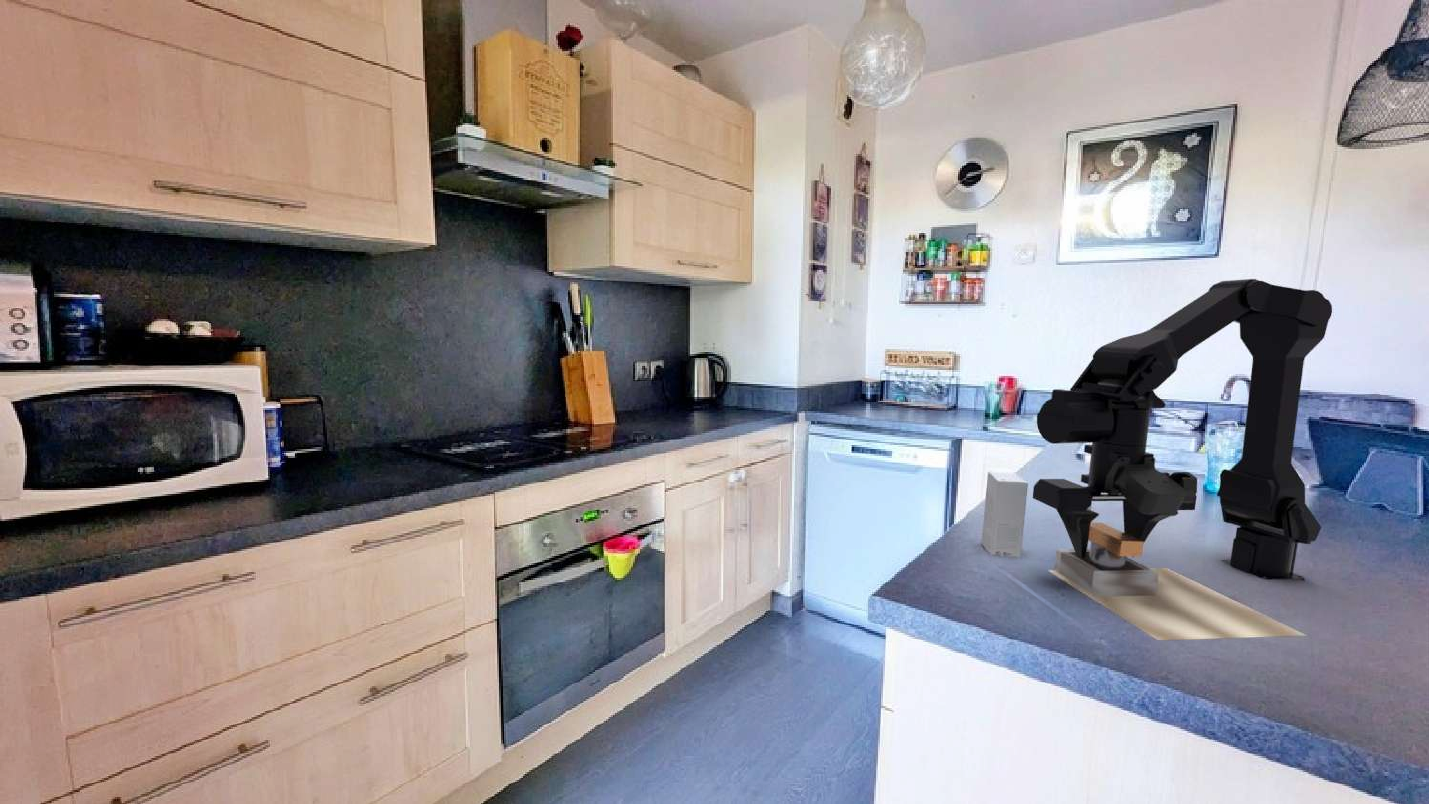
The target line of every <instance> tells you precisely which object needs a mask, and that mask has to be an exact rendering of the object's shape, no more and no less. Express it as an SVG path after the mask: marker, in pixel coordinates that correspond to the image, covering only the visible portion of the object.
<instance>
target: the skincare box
mask: <svg viewBox="0 0 1429 804" xmlns="http://www.w3.org/2000/svg"><path fill="white" fill-rule="evenodd" d="M986 478H987V480H986V488H985V489H986V490H985V499H984V501H985V502H984V509H983V511H984V512H983V522H982V532H981V533H982V535H981V545H982V547H983V548H984V549H985V551H986V552H989V553H990V555H991V556H1000V557H1001V556H1002V557H1011V558H1021V557H1022V550H1023V549H1022V548H1023V538H1024V527H1025V517H1026V508H1027V507H1026V506H1027V499H1028V497H1027V495H1028V487H1029V484H1028V483H1029V482H1027V481H1026V480H1024V479H1023V478H1022V477H1020V476H1019V475H1018V474H1016V473H1015V472H1000V471H988V472H987V477H986Z"/></svg>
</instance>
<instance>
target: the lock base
mask: <svg viewBox="0 0 1429 804" xmlns="http://www.w3.org/2000/svg"><path fill="white" fill-rule="evenodd" d="M1089 553H1090V548H1087V551H1086V555H1085V558H1080V557H1079V556H1077V555H1076V553H1075V550H1074V548H1070V549H1056V550H1055V561H1054V569H1047V571H1048V572H1049V573H1051V574H1052V575H1054V576H1055V577H1057V578H1058V579H1060V580H1061V581H1063V582H1065V583H1066V584H1069V586H1071V587H1072V588H1074V589H1076V590H1077V591H1079V592H1081V593H1082V594H1084V595H1085V596H1086V597H1089V598H1090V599H1092V600H1094V601H1095V602H1096V603H1098V604H1100V605H1101V606H1102V607H1104V608H1106V609H1107V610H1108V611H1110V612H1112V613H1114V614H1116V615H1117V616H1118V617H1120V618H1122V619H1123V620H1124V621H1125V622H1128V623H1129V624H1131V625H1133V626H1134V627H1136V628H1137V629H1139V630H1140V631H1142V632H1143V633H1144V634H1146V635H1148V636H1150V637H1151V638H1153V639H1155V641H1161V642H1162V641H1163V642H1164V641H1188V640H1191V641H1192V640H1193V641H1194V640H1216V639H1217V640H1218V639H1219V640H1221V639H1223V640H1225V639H1250V638H1281V637H1282V638H1283V637H1307V634H1304V633H1302V632H1301V631H1298V630H1296V629H1294V628H1292V627H1290V626H1288V625H1286V624H1284V623H1282V622H1280V621H1278V620H1275V619H1274V618H1272V617H1270V616H1267V615H1265V614H1263V613H1260V612H1259V611H1256V610H1255V609H1253V608H1251V607H1249V606H1246V605H1245V604H1242V603H1240V602H1238V601H1236V600H1233V599H1232V598H1230V597H1227V596H1226V595H1223V593H1222V594H1221V593H1219V592H1217V591H1215V590H1213V589H1212V588H1209V587H1207V586H1205V585H1203V584H1201V583H1199V582H1197V581H1194V580H1192V579H1190V578H1188V577H1186V576H1184V575H1182V574H1179V573H1178V572H1175V571H1173V570H1172V569H1169V568H1168V567H1147V566H1145V565H1144V564H1141V563H1139V562H1138V561H1135V560H1133V559H1131V558H1129V557H1128V556H1126V562H1125V568H1124V570H1114V571H1101V570H1099V569H1097V568H1095V567H1094V566H1092V565H1090V564H1088V559H1089Z"/></svg>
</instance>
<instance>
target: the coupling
mask: <svg viewBox="0 0 1429 804" xmlns="http://www.w3.org/2000/svg"><path fill="white" fill-rule="evenodd" d="M1088 542H1090V548H1089V549H1090V553H1089V559H1088V564H1090V565H1092V566H1094V567H1095V568H1097V569H1099V570H1101V571H1114V570H1124V568H1125V562H1126V557H1131V558H1135V557H1136V558H1137V557H1138V558H1141V557H1142V555H1143V554H1142V553H1143V550H1144V544H1145V542H1143V541H1141V540H1139V539H1137V538H1134V537H1132V536H1130V535H1128V534H1126V533H1124V531H1121V530H1118V529H1116V528H1114V527H1112V526H1110V525H1108V524H1106V523H1103V522H1093V521H1092V522H1091V523H1090V531H1089V539H1088Z"/></svg>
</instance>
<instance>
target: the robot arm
mask: <svg viewBox="0 0 1429 804" xmlns="http://www.w3.org/2000/svg"><path fill="white" fill-rule="evenodd" d="M1332 306H1333V305H1332V303H1331V302H1330V300H1329V299H1327V298H1325V296H1324V295H1323V293H1321V291H1318V290H1314V289H1311V290H1310V289H1306V290H1305V289H1298V288H1293V287H1287V286H1282V285H1275V284H1271V283H1269V282H1266V281H1264V280H1259V279H1256V278H1249V279H1246V278H1245V279H1233V280H1232V279H1231V280H1221V281H1219V282H1217V283H1215V284H1212V285H1211V287H1209V289H1208V291H1206V292H1205V293H1204V294H1202V295H1200V296H1199V297H1197V298H1196V299H1194V300H1193V301H1191V302H1190V303H1188V304H1186V305H1185V306H1183V307H1182V308H1180V309H1179V310H1177V311H1176V312H1174V313H1173V314H1171V315H1170V316H1168V317H1167V318H1165V319H1163V320H1162V321H1160V322H1159V323H1158V324H1156V325H1154V326H1153V327H1152V328H1150V329H1148V330H1145V331H1144V332H1140V333H1136V334H1133V335H1129V336H1124V337H1119V338H1118V339H1115V340H1114V341H1112V342H1108V343H1106V344H1104V345H1102V346H1100V347H1099V348H1098V349H1096V351H1094V353H1093V355H1092V359H1091V361H1090V362H1089V363H1088V364H1087V366H1086V368H1085V369H1084V370H1083V371H1082V372H1081V374H1080V376H1079V377H1078V378H1077V379H1076V381H1075V382H1074V383H1073V384H1072V386H1071V387H1070V389H1069V390H1067V389H1060V388H1059V389H1057V388H1056V389H1055V388H1054V389H1053V390H1052V392H1051V398H1050V399H1048V400H1046V401H1045V402H1044V403H1043V404H1042V406H1041V407H1040V410H1039V412H1037V413H1036V425H1037V429H1038V432H1039V434H1040V435H1041V437H1042V438H1043V439H1044V440H1045V441H1047V443H1050V444H1084V443H1085V444H1084V449H1083V452H1084V454H1085V453H1086V454H1089V455H1090V459H1089V469H1088V474H1087V473H1086V474H1082V473H1081V477H1080V482H1081V483H1083V484H1086V485H1087V486H1083V485H1081V484H1078V483H1076V482H1072V481H1070V480H1067V479H1065V478H1039V479H1038V480H1037V482H1035V483H1034V485H1033V492H1032V499H1034V500H1036V501H1038V502H1040V503H1042V504H1045V505H1047V506H1049V507H1051V508H1053V509H1055V510H1056V512H1057V513H1058V515H1059V517H1060V519H1061V521H1062V523H1063V525H1064V528H1065V530H1066V533H1067V535H1068V537H1069V539H1070V543H1071V544H1072V547H1073V548H1072V549H1074V550H1075V553H1076V555H1077V556H1079V557H1080V558H1085V555H1086V551H1087V549H1088V545H1089V540H1088V539H1089V531H1090V523H1091V522H1093V521H1094V520H1095V519H1096V518H1098V517H1099V516H1100V513H1098V512H1095V511H1093V510H1092V502H1122V512H1123V513H1122V515H1123V530H1124V531H1123V533H1126V534H1128V535H1130V536H1132V537H1134V538H1137V539H1139V540H1141V541H1143V542H1144V543H1145V542H1146V541H1147V539H1148V537H1149V536H1150V535H1151V532H1152V531H1153V529H1154V528H1155V527H1156V525H1157V524H1158V523H1159V522H1161V521H1164V520H1165V519H1167V518H1170V517H1176V516H1177V515H1179V511H1196V504H1197V493H1198V477H1197V476H1195V475H1193V474H1192V473H1191V472H1189V471H1175V472H1172V473H1171V474H1170V473H1169V472H1168V471H1167V472H1164V471H1163V472H1162V471H1159V470H1158V469H1156V466H1155V462H1156V458H1155V456H1154V455H1155V453H1150V452H1147V451H1146V450H1147V441H1148V434H1149V427H1150V426H1149V425H1150V419H1151V418H1150V417H1151V409H1164V408H1165V407H1166V403H1165V401H1163V399H1161V398H1160V396H1158V395H1157V394H1156V393H1155V390H1157V389H1158V388H1159V387H1160V386H1161V385H1163V383H1165V381H1167V380H1168V379H1169V378H1170V377H1171V376H1172V375H1173V374H1174V373H1175V372H1177V369H1178V368H1177V367H1178V364H1179V360H1180V358H1182V357H1183V356H1184V355H1185V354H1187V353H1189V351H1191V350H1193V349H1194V348H1196V347H1197V346H1199V345H1200V344H1202V343H1203V342H1205V341H1206V340H1208V339H1209V338H1211V337H1212V336H1214V335H1215V334H1217V333H1218V332H1220V331H1221V330H1223V329H1225V328H1226V327H1227V326H1230V324H1232V323H1237V324H1239V337H1240V338H1239V339H1240V340H1241V341H1242V343H1243V344H1244V346H1245V347H1246V349H1247V350H1248V352H1249V354H1250V355H1251V357H1252V362H1251V363H1252V364H1251V371H1250V372H1251V374H1250V381H1249V391H1248V399H1247V409H1246V417H1245V418H1246V419H1245V426H1244V436H1243V443H1242V445H1243V446H1242V450H1241V451H1242V452H1241V458H1240V459H1239V461H1238V462H1236V463H1235V464H1234V465H1233V466H1232V467H1231V468H1230V469H1226V468H1225V469H1223V470H1221V472H1220V474H1219V488H1218V490H1217V493H1216V496H1217V497H1219V504H1220V508H1221V514H1222V515H1221V516H1222V521H1223V522H1224V523H1226V524H1231V525H1233V526H1237V527H1236V529H1235V531H1236V532H1235V537H1234V538H1233V541H1232V548H1231V552H1230V553H1231V556H1230V559H1221V560H1220V561H1221V562H1222V563H1225V564H1227V565H1230V566H1231V567H1233V568H1235V569H1237V570H1240V571H1243V572H1245V573H1247V574H1251V575H1253V576H1256V577H1257V578H1260V579H1263V580H1301V581H1304V582H1305V581H1306V577H1305V576H1303V575H1300V574H1297V573H1295V572H1294V569H1295V565H1296V564H1295V563H1296V557H1297V550H1298V544H1304V545H1305V544H1306V545H1310V544H1311V542H1316V541H1317V538H1318V536H1319V533H1320V532H1321V530H1322V526H1321V524H1320V522H1318V520H1317V519H1316V517H1315V515H1314V514H1313V513H1312V511H1311V510H1310V508H1309V507H1308V505H1307V504H1306V485H1305V483H1304V482H1303V480H1302V478H1301V477H1300V475H1299V473H1298V472H1297V470H1296V468H1295V467H1294V466H1293V464H1292V459H1293V451H1294V442H1295V436H1296V435H1295V434H1296V426H1297V417H1298V409H1299V402H1300V401H1299V400H1300V395H1301V394H1300V393H1301V386H1302V380H1303V379H1302V377H1303V371H1304V364H1305V363H1304V362H1305V358H1306V357H1307V356H1308V355H1309V354H1310V353H1311V352H1312V351H1313V350H1314V349H1315V348H1316V347H1317V346H1318V345H1319V344H1320V343H1321V342H1322V341H1323V340H1324V338H1325V335H1326V331H1327V328H1328V325H1329V324H1328V323H1329V322H1330V319H1331V317H1332V313H1333V307H1332ZM1086 443H1087V444H1086ZM1088 443H1091V444H1088Z"/></svg>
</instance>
